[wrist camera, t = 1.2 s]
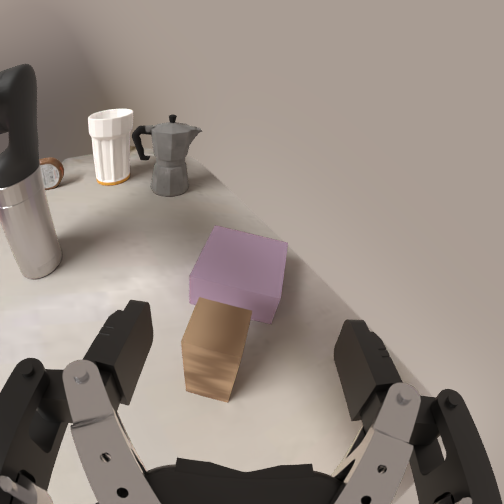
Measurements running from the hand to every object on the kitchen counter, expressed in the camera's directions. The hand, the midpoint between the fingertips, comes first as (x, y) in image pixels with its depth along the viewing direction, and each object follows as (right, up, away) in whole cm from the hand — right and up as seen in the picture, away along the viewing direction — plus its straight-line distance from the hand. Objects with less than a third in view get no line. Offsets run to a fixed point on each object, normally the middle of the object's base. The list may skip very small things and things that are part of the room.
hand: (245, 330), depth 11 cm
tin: (-55, +19, +44) cm, 73 cm away
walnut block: (-5, -12, +20) cm, 24 cm away
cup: (-36, +22, +52) cm, 67 cm away
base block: (-2, -2, +32) cm, 33 cm away
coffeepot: (-20, +18, +52) cm, 58 cm away
